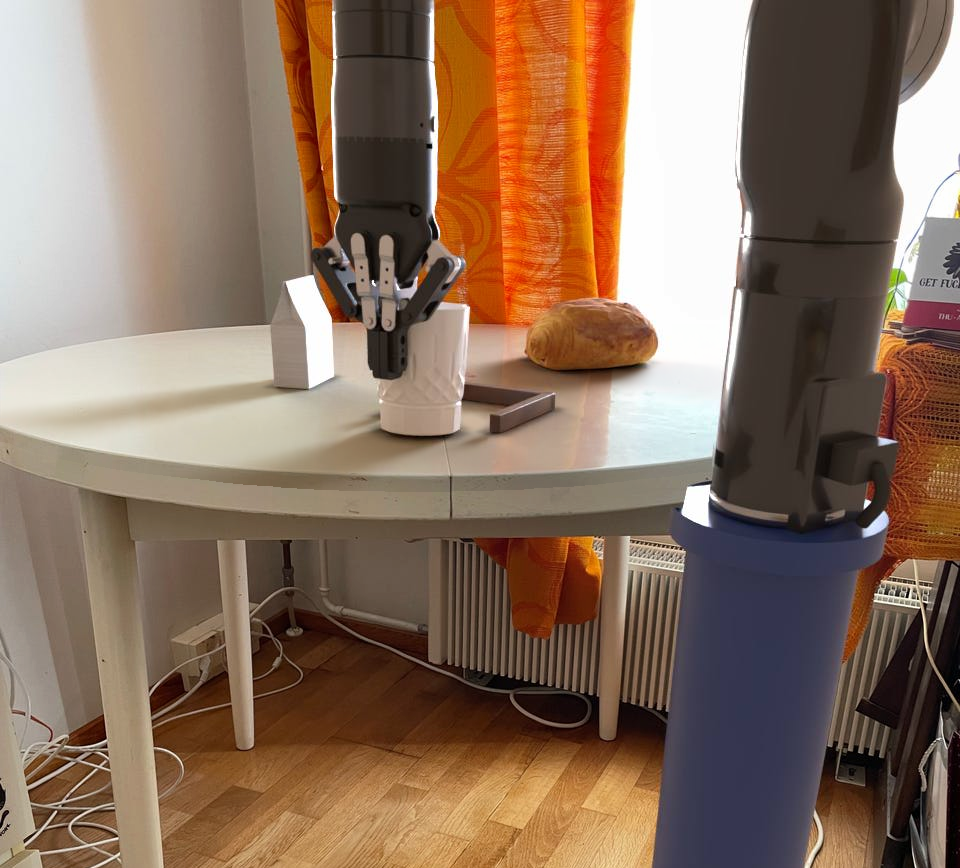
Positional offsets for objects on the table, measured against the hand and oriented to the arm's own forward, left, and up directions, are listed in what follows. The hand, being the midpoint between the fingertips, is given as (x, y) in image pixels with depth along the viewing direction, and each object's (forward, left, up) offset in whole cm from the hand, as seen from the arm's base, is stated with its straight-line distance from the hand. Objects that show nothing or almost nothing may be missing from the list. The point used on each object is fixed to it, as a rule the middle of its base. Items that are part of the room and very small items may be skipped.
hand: (388, 377), depth 81 cm
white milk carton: (+26, -5, -5) cm, 27 cm away
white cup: (+2, -4, -5) cm, 7 cm away
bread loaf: (+21, -38, -5) cm, 43 cm away
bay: (+5, -11, -5) cm, 13 cm away
